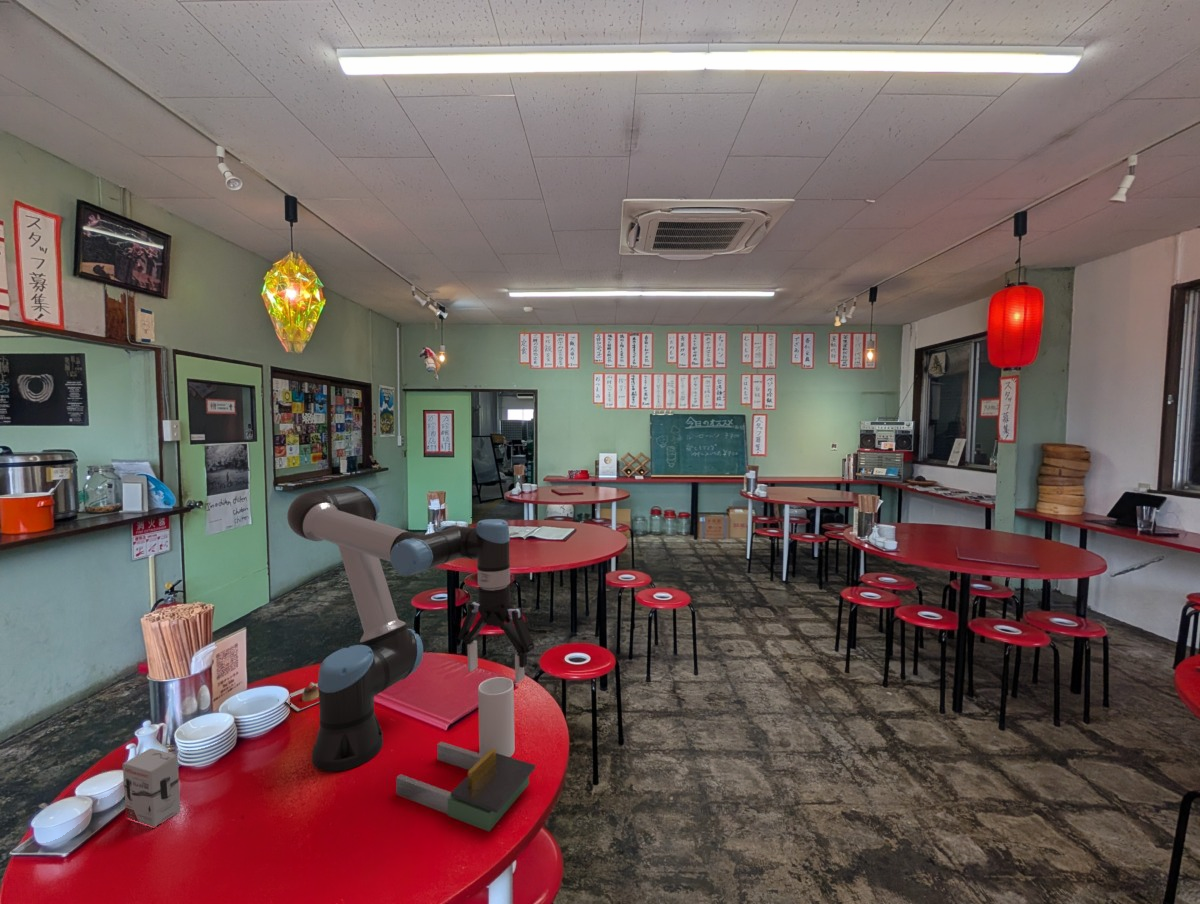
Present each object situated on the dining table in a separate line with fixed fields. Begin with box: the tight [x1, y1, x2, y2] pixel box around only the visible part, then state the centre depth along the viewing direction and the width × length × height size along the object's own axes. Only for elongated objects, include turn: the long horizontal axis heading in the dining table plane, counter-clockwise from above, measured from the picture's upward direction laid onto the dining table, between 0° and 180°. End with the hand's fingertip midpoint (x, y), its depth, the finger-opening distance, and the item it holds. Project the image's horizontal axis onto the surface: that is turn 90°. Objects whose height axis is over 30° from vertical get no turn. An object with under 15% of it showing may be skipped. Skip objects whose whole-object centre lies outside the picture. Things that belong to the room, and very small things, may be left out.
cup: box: [477, 676, 516, 758], centre depth 118 cm, size 8×8×16 cm
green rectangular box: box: [447, 775, 530, 832], centre depth 102 cm, size 10×14×4 cm
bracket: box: [395, 741, 485, 815], centre depth 107 cm, size 14×13×4 cm
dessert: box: [289, 681, 319, 712], centre depth 144 cm, size 12×12×5 cm
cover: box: [450, 748, 536, 813], centre depth 102 cm, size 11×14×4 cm
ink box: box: [122, 748, 181, 827], centre depth 99 cm, size 8×5×12 cm, turn 73°
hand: (495, 674), depth 117 cm, fingers open, 13 cm apart
